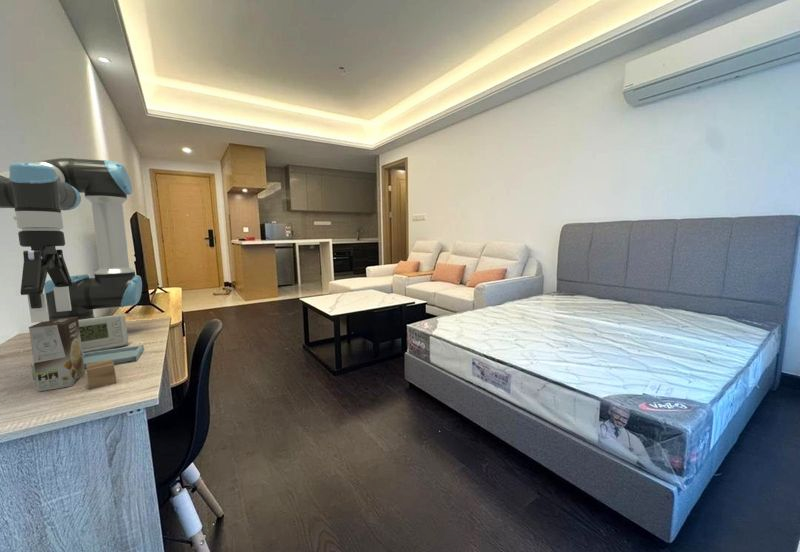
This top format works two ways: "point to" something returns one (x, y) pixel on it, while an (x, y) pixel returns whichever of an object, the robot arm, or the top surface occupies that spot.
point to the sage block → (33, 372)
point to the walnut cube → (100, 374)
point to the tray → (114, 355)
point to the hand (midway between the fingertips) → (53, 316)
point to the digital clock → (103, 333)
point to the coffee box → (57, 353)
